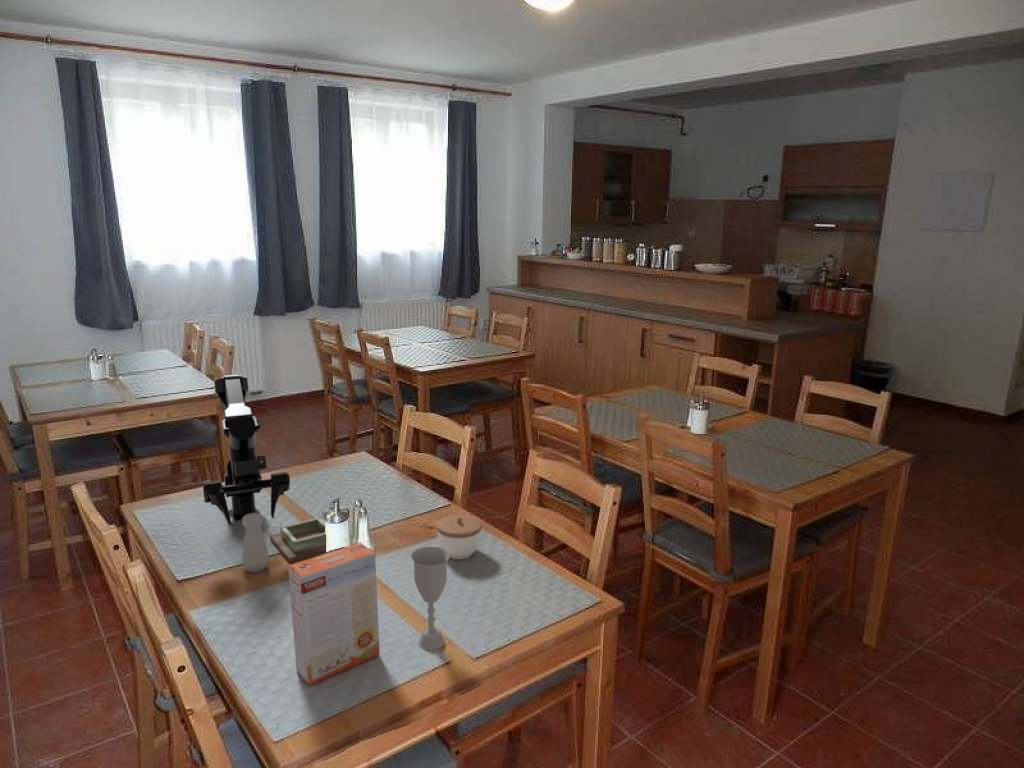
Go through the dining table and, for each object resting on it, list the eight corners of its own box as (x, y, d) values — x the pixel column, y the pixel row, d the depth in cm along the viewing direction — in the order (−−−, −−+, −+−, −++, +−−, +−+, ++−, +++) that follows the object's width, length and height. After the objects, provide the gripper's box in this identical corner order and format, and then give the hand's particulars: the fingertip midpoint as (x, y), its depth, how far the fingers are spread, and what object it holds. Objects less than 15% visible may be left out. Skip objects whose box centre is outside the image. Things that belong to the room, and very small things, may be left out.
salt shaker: (241, 575, 155) (236, 521, 151) (243, 563, 160) (239, 511, 157) (268, 572, 156) (264, 519, 153) (270, 560, 162) (266, 508, 158)
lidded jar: (453, 569, 159) (453, 531, 157) (428, 551, 167) (427, 515, 165) (490, 555, 166) (491, 519, 164) (464, 538, 174) (464, 504, 172)
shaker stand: (270, 539, 171) (269, 526, 171) (325, 525, 179) (324, 512, 179) (289, 562, 160) (288, 548, 160) (346, 546, 169) (346, 532, 168)
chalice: (405, 640, 132) (403, 554, 128) (433, 626, 137) (432, 543, 133) (429, 658, 127) (427, 569, 123) (457, 642, 132) (457, 556, 128)
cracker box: (365, 640, 132) (361, 540, 127) (380, 656, 128) (377, 552, 123) (294, 669, 123) (286, 563, 118) (308, 687, 119) (301, 577, 114)
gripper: (199, 449, 155) (205, 514, 148) (286, 439, 163) (296, 500, 156) (201, 471, 164) (207, 533, 157) (284, 460, 172) (293, 519, 164)
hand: (251, 521), depth 158 cm, fingers open, 9 cm apart
